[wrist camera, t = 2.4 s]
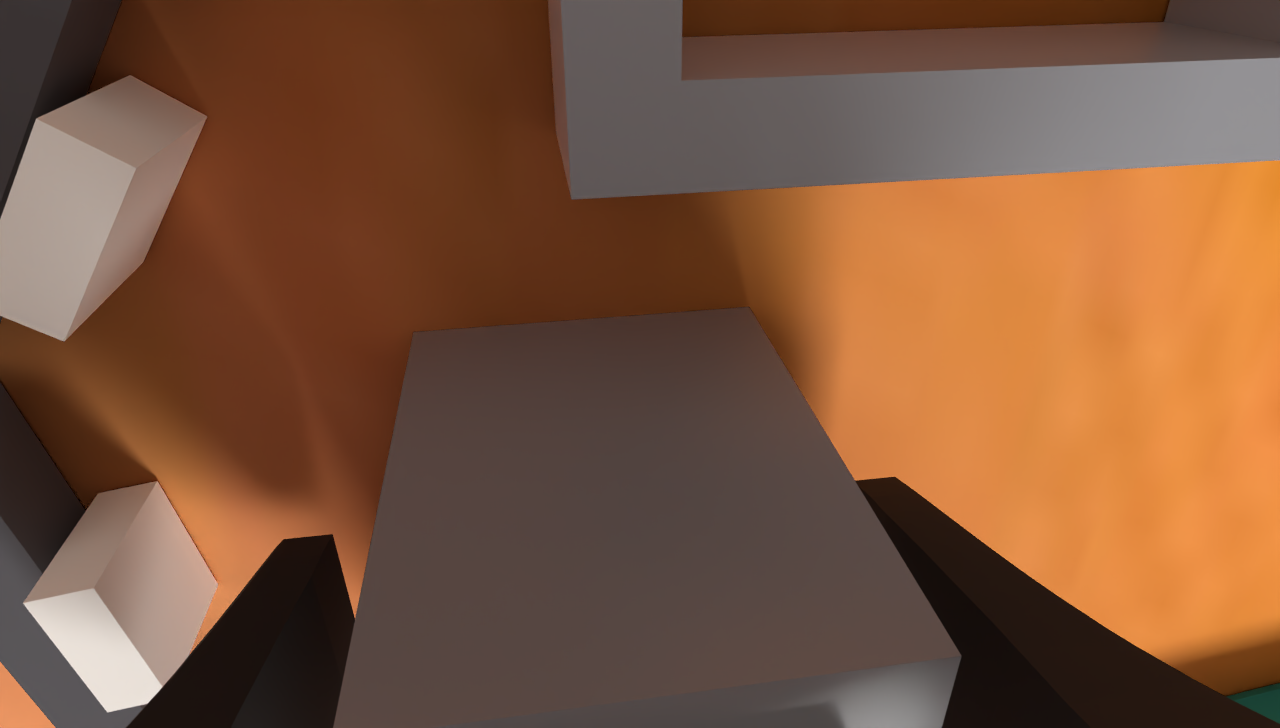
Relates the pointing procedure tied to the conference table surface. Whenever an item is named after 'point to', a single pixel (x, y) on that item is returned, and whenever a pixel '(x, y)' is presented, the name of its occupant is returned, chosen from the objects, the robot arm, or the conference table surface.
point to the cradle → (904, 99)
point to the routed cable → (57, 305)
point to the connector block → (629, 544)
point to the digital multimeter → (1261, 701)
